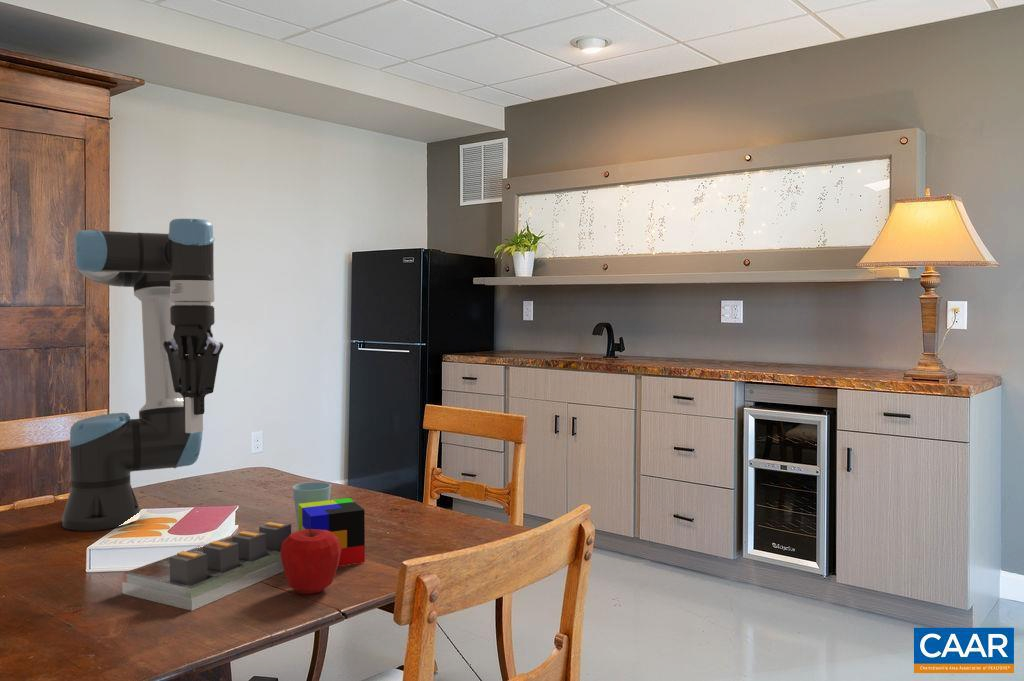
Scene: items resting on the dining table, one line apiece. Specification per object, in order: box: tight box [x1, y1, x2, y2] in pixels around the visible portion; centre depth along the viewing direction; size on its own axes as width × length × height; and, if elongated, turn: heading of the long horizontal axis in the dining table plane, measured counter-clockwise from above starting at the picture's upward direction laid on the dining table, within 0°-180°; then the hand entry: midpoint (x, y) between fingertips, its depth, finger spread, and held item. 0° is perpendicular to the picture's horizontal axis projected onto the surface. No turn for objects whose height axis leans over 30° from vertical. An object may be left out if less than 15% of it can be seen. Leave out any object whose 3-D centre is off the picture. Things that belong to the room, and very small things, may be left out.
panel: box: [121, 532, 284, 612], centre depth 138 cm, size 16×26×4 cm, turn 154°
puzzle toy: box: [297, 497, 366, 567], centre depth 149 cm, size 10×10×10 cm
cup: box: [292, 481, 332, 527], centre depth 163 cm, size 8×8×10 cm
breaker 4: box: [258, 521, 292, 551], centre depth 145 cm, size 4×4×5 cm
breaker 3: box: [231, 530, 266, 562], centre depth 139 cm, size 4×4×5 cm
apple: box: [280, 528, 342, 595], centre depth 132 cm, size 10×10×11 cm
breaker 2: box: [202, 539, 239, 573], centre depth 133 cm, size 4×4×5 cm
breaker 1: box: [168, 549, 207, 586], centre depth 128 cm, size 4×4×5 cm
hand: (194, 431), depth 145 cm, fingers closed
